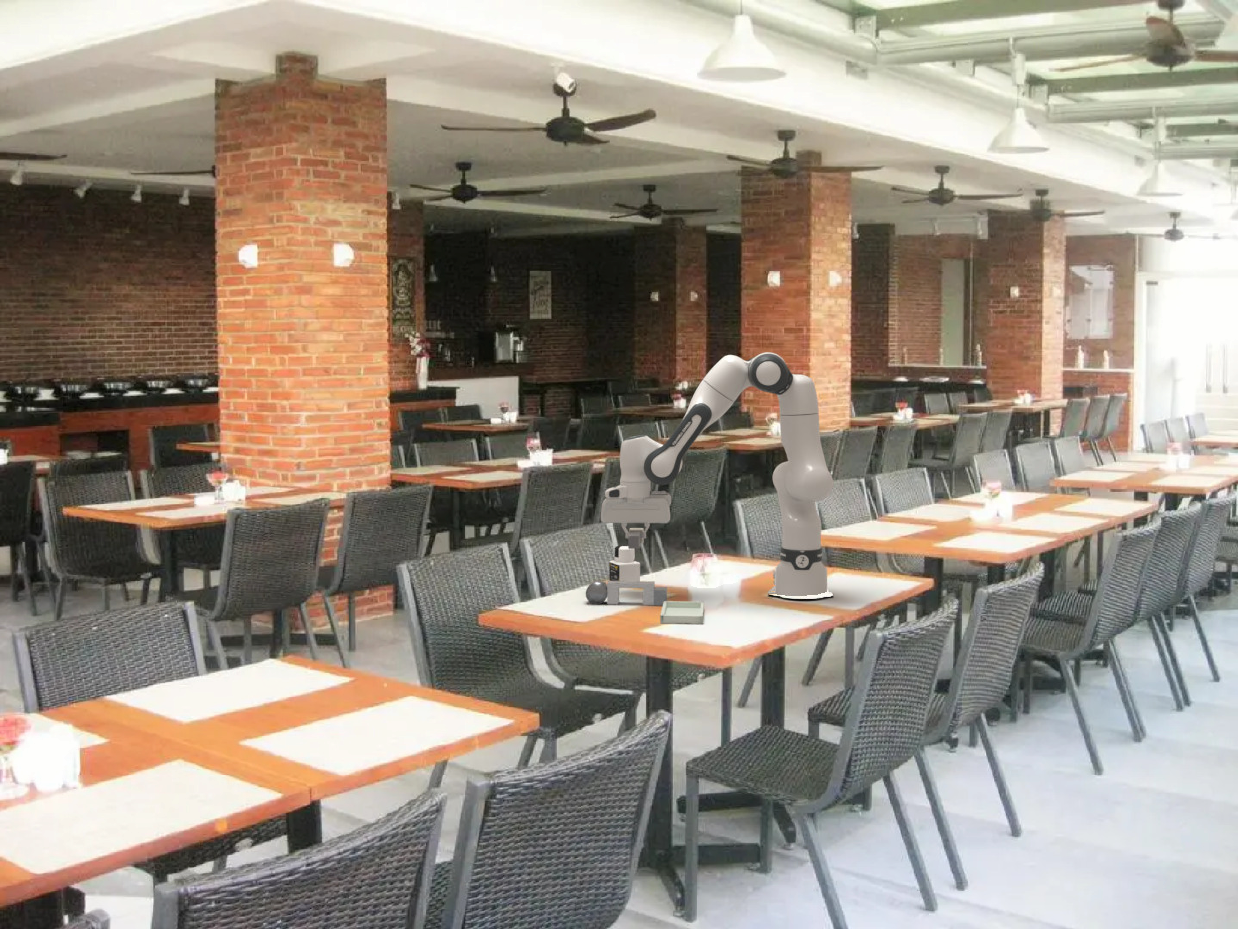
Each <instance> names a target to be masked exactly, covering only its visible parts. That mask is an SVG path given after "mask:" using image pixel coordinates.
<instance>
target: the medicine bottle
mask: <svg viewBox="0 0 1238 929" xmlns="http://www.w3.org/2000/svg"><path fill="white" fill-rule="evenodd" d="M635 551H636V550H635V549H628V544H620V545H619V544H618V545H616V546H615V547H614V560H610V561H609V563H608V564H609V566H608V567H609V569H608V570H609V571H608V572H609V579H608V581H641V563H640V562H639V561H636V559H635V558H636V557H635V556H636V555H635V554H636V552H635Z"/></svg>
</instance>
